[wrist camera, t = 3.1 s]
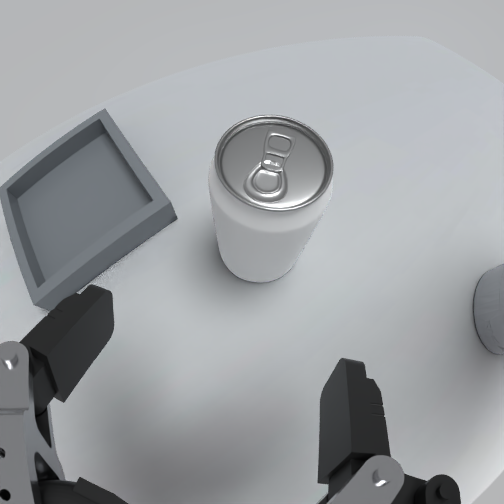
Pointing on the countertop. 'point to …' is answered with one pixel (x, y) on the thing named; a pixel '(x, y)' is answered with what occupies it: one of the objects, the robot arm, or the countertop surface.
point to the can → (268, 194)
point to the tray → (80, 209)
